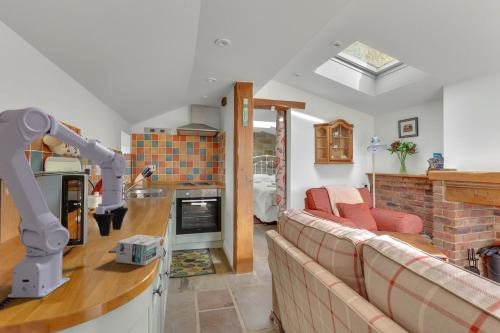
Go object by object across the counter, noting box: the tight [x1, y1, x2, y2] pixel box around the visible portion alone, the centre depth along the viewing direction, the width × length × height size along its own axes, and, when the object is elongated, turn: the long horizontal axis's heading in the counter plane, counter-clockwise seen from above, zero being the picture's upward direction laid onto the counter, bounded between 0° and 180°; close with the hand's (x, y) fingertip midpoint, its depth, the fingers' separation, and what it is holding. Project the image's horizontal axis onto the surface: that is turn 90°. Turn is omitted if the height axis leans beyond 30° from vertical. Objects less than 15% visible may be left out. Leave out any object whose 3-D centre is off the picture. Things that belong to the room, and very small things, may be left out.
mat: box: [108, 245, 117, 253], centre depth 95 cm, size 12×9×1 cm
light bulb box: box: [115, 233, 165, 267], centre depth 83 cm, size 11×7×11 cm
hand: (111, 232), depth 79 cm, fingers open, 7 cm apart
